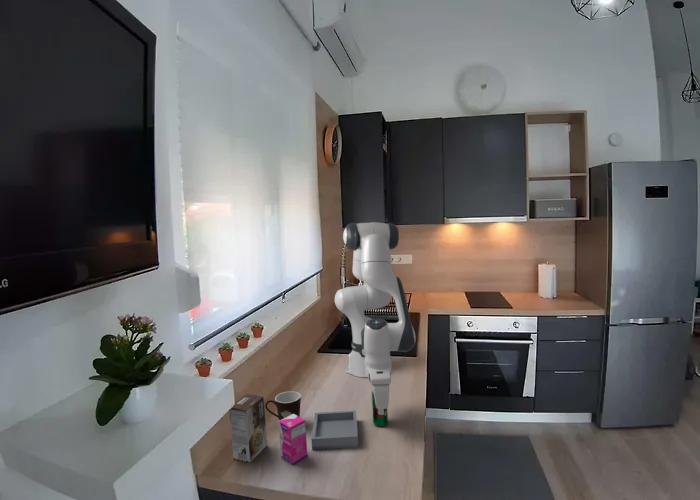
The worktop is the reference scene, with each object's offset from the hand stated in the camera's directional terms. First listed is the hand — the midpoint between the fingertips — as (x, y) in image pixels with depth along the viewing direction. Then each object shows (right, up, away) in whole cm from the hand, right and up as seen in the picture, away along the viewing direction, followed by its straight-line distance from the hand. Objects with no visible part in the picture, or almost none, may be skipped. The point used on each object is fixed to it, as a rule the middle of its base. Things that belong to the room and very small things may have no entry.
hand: (379, 408), depth 134 cm
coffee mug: (-32, -7, +3) cm, 33 cm away
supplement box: (-26, -8, -16) cm, 32 cm away
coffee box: (-40, -8, -12) cm, 43 cm away
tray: (-15, -6, -5) cm, 17 cm away
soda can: (0, -5, +1) cm, 5 cm away
